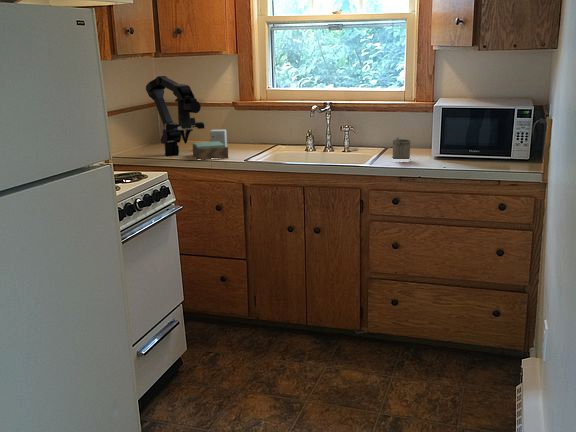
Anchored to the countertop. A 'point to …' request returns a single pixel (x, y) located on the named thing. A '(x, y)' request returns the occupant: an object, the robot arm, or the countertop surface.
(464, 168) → the countertop surface
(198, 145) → the cover plate
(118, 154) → the countertop surface
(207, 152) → the walnut box
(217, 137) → the small box
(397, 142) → the jerry can
